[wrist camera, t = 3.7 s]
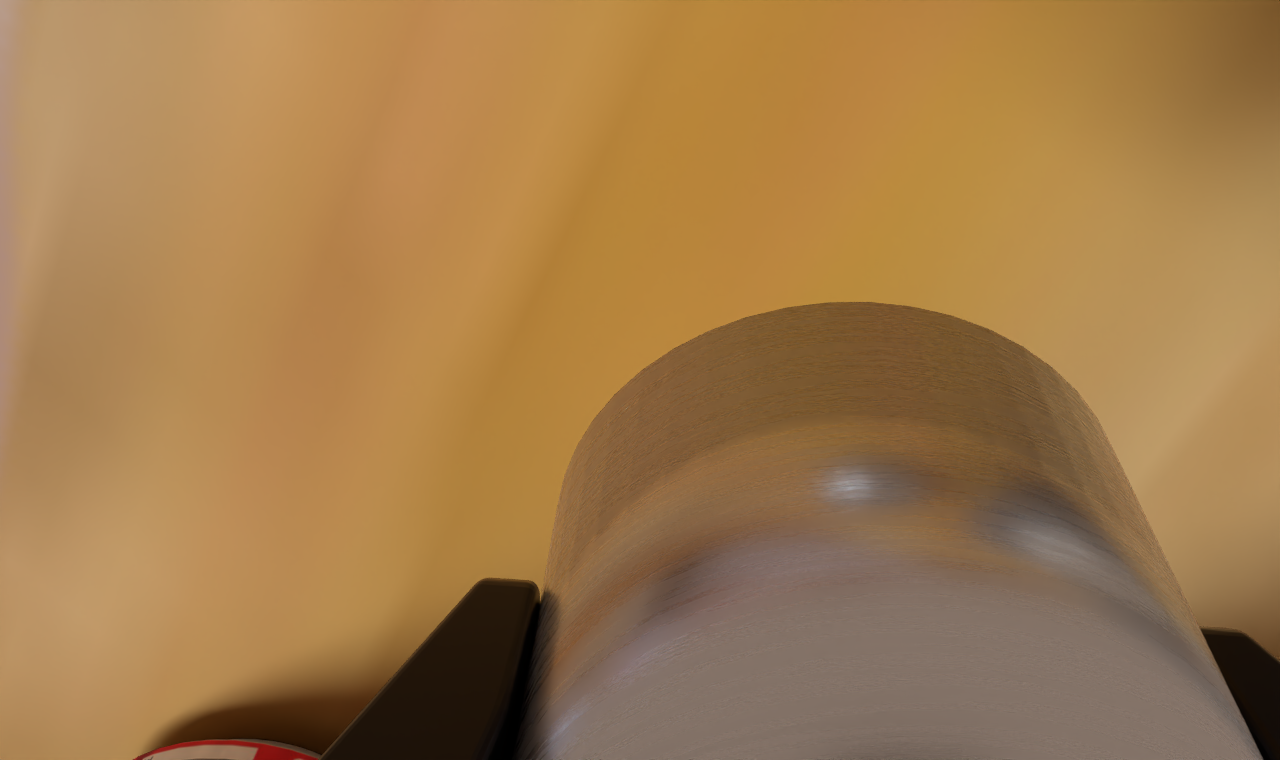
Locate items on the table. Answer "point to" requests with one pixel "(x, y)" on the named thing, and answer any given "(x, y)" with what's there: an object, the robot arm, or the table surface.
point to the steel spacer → (861, 562)
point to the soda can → (230, 751)
